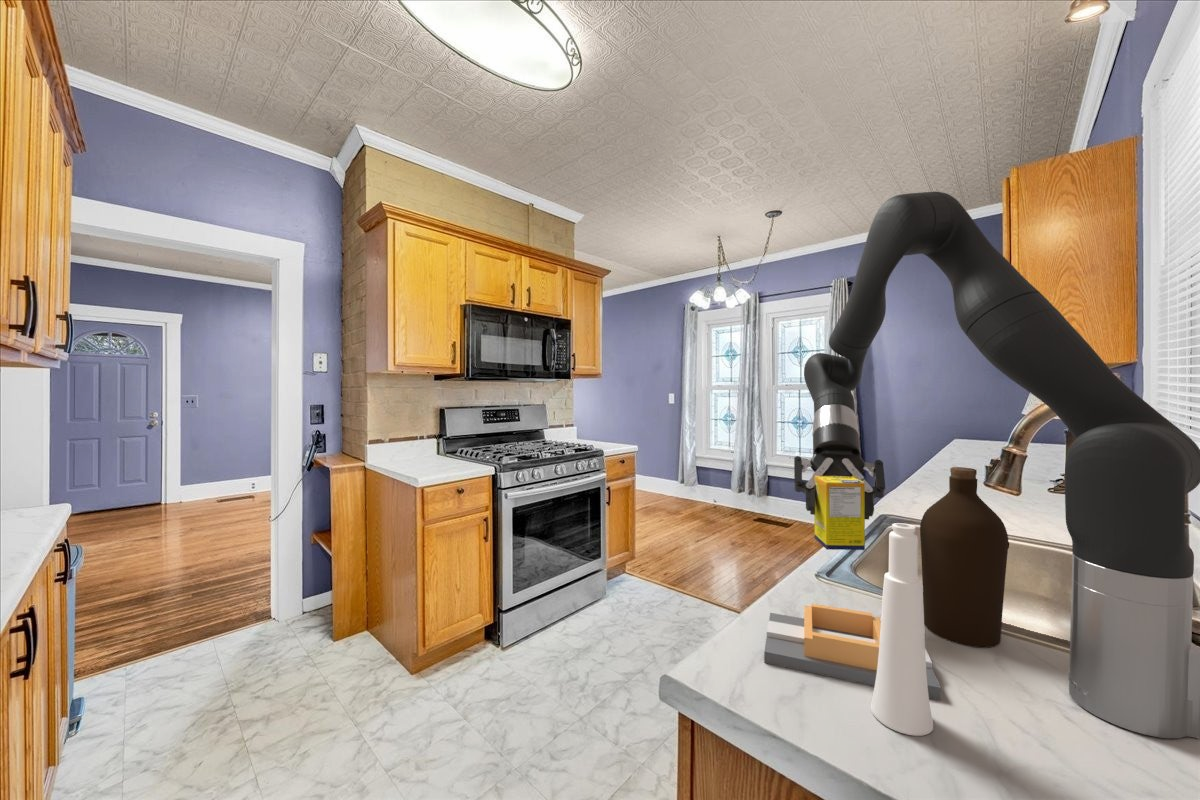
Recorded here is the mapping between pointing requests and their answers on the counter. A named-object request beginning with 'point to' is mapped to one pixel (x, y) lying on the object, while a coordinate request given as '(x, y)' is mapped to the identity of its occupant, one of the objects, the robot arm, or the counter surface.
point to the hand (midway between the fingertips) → (839, 514)
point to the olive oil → (963, 565)
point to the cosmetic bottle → (902, 642)
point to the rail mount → (832, 645)
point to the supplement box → (840, 512)
